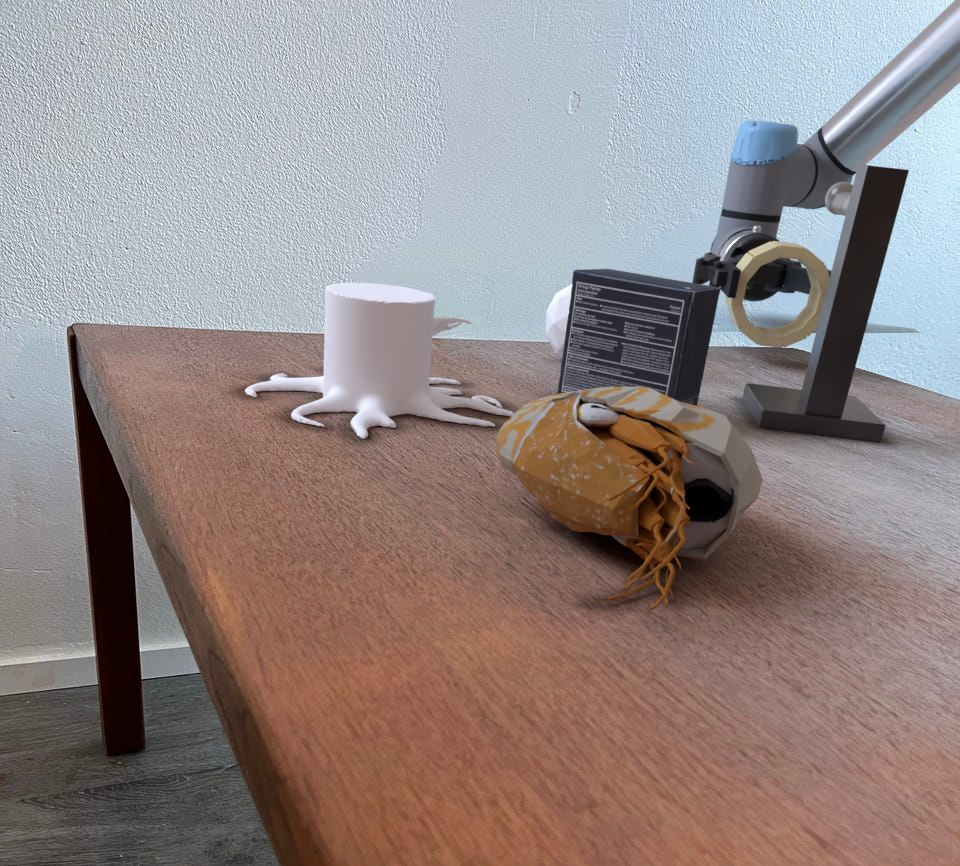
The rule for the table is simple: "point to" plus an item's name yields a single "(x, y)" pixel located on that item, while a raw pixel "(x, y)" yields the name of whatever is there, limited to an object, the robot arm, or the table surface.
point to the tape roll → (806, 318)
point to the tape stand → (840, 317)
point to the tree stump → (380, 360)
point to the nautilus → (634, 471)
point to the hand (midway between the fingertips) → (787, 289)
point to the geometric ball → (558, 319)
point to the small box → (637, 333)
